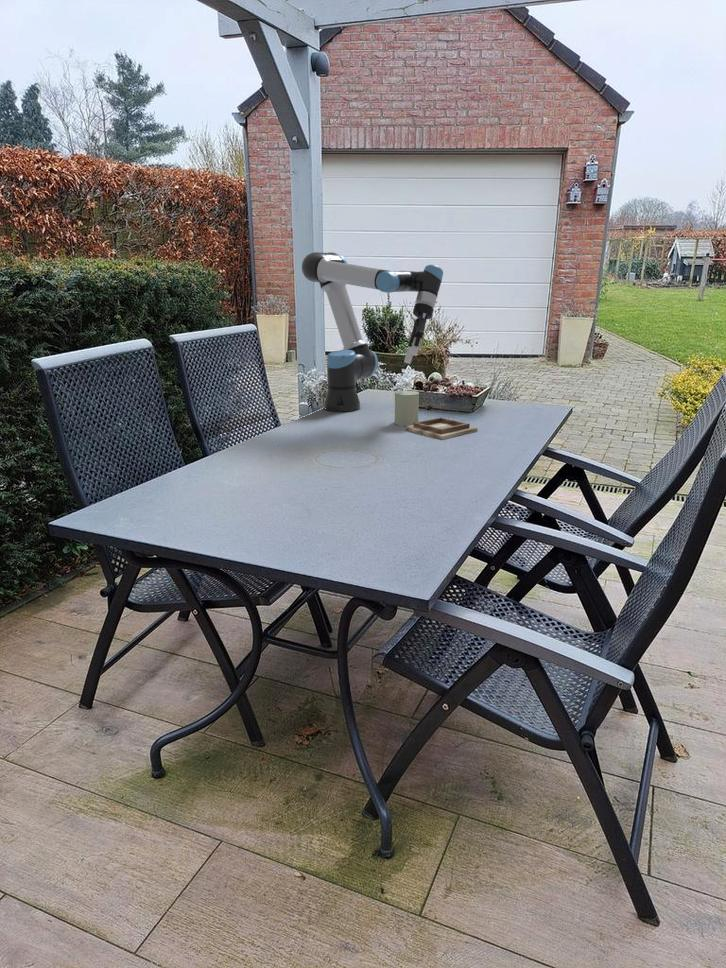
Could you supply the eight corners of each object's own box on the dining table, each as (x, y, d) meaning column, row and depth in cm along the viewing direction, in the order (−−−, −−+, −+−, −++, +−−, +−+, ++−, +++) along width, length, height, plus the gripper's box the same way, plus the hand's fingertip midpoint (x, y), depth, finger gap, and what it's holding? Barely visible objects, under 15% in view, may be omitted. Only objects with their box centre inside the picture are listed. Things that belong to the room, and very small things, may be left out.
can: (389, 422, 242) (390, 390, 238) (411, 419, 246) (411, 388, 242) (401, 427, 234) (401, 394, 230) (423, 424, 238) (424, 392, 234)
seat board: (405, 430, 229) (405, 422, 228) (440, 422, 240) (440, 415, 239) (442, 439, 216) (442, 431, 215) (477, 431, 227) (477, 423, 226)
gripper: (441, 298, 232) (426, 354, 230) (427, 318, 256) (413, 368, 255) (421, 292, 231) (406, 348, 230) (409, 313, 256) (395, 363, 255)
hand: (410, 359), depth 243 cm, fingers open, 13 cm apart
